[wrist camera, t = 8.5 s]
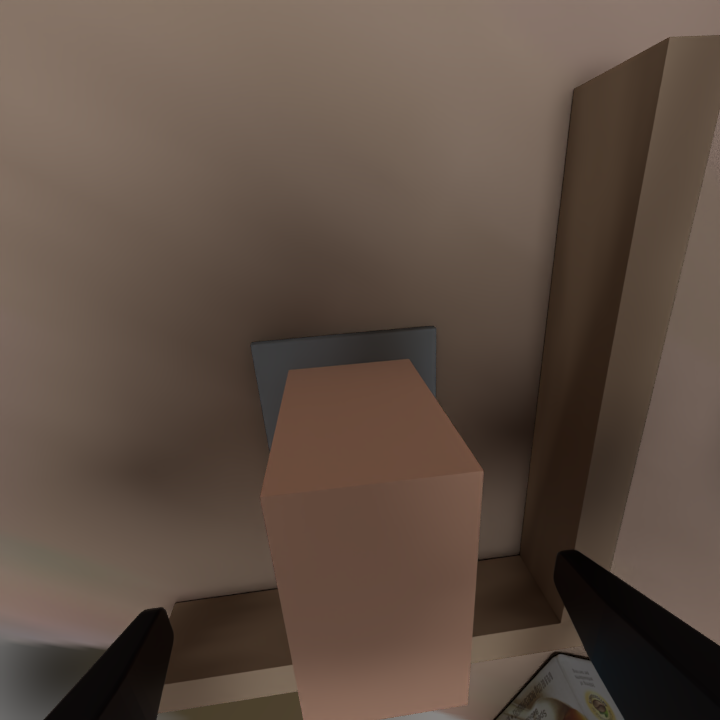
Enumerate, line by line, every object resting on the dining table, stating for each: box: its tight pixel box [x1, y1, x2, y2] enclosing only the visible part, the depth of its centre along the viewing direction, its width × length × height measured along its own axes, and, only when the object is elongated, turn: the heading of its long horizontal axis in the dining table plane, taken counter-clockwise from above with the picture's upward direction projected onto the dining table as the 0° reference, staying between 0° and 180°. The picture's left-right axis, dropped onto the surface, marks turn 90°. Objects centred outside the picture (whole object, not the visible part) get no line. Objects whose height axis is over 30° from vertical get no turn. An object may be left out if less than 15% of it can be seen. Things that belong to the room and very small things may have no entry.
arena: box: [158, 35, 720, 713], centre depth 12 cm, size 16×19×3 cm
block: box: [260, 359, 484, 720], centre depth 10 cm, size 7×4×6 cm, turn 4°
